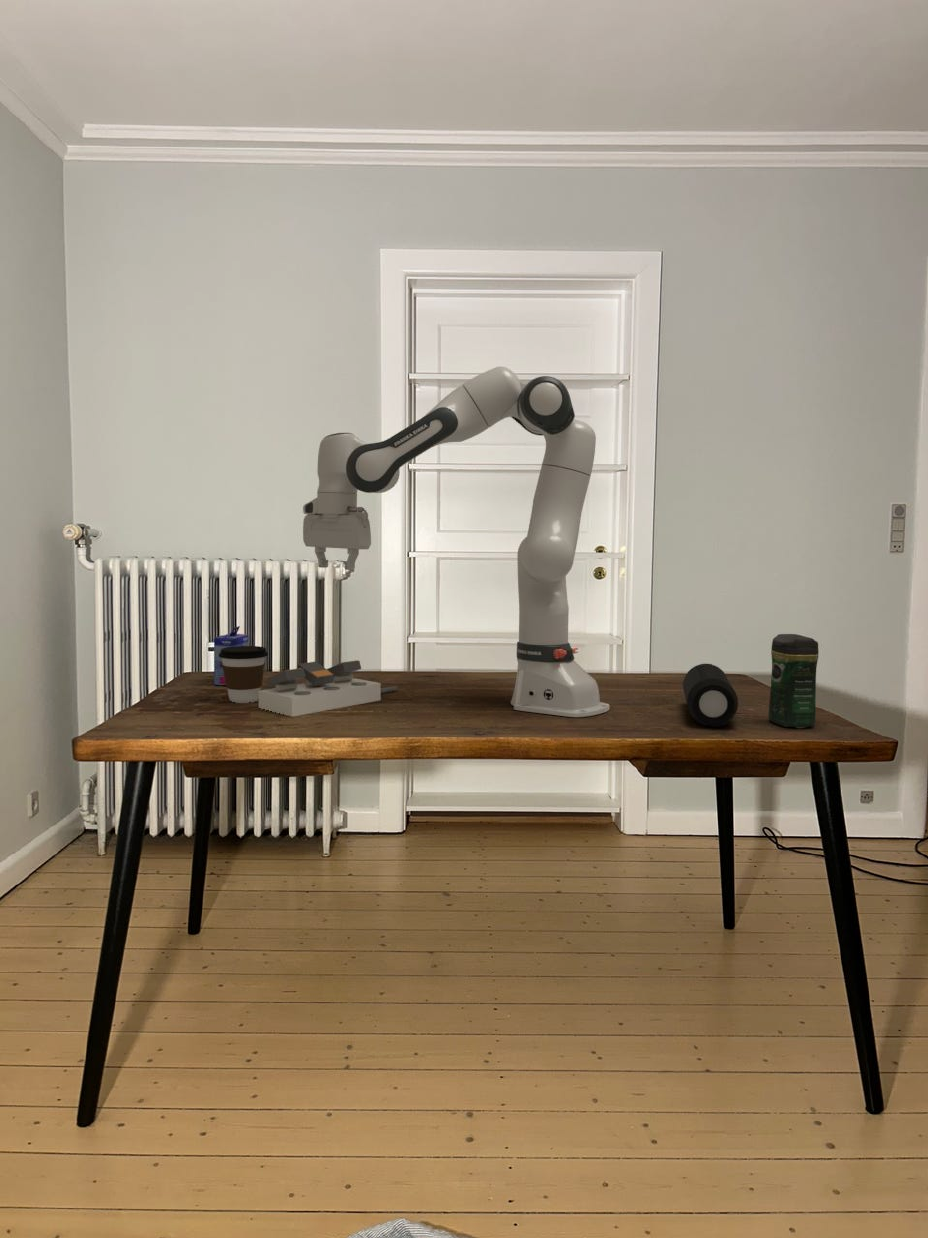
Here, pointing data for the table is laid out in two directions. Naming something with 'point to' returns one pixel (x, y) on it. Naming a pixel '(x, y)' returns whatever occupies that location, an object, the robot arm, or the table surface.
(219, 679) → the ink cartridge box
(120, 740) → the table surface
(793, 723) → the coffee jar
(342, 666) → the rocker
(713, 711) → the portable speaker
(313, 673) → the rocker
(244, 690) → the coffee cup
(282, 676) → the rocker
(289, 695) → the power strip
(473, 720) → the table surface
